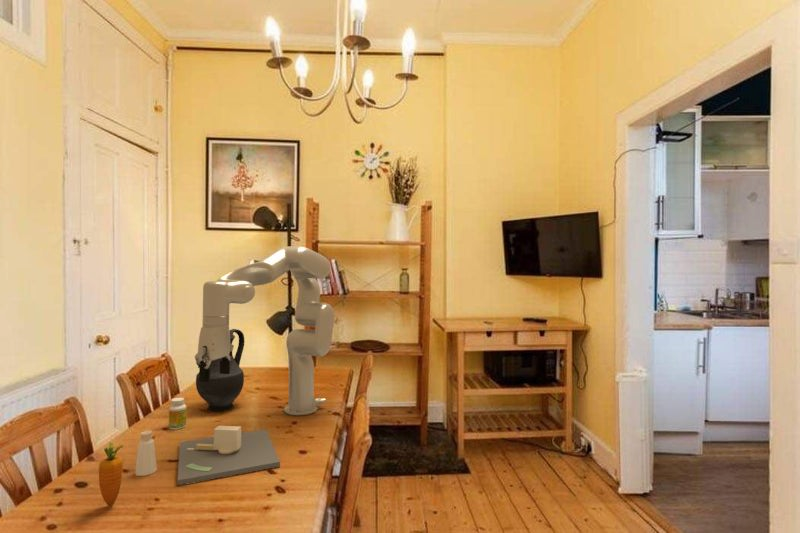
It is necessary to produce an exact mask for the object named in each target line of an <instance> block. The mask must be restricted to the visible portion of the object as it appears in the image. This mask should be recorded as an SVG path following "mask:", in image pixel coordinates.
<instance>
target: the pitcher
mask: <svg viewBox="0 0 800 533" xmlns="http://www.w3.org/2000/svg"><path fill="white" fill-rule="evenodd" d="M229 330H230V344H232V345H233V341H234V340H235V338H236V336H235V335H234V333H235V334H236V335H238V345H237V349H236V353H235V355H233V354H232V355H231V360H230V373H229V374H220V361H222V360H221V358H220V359H217V360H214V361H211V363H210V365H209V368H210V381H209V382H200V381H199V372H198V373H197V374H196V376H195V386H196V391H197V393H198V395H199V397H201V399H202V400H204V401H205V402H206V403H207V404H208V406H207V408H206V410H207V411H208V412H211V413H221V412H222V413H223V412H226V411H229V410H232V409H233V408H235V405H234V404H233V402H235V400H236V399H237V398H238V397H239V396H240V394H241V392H242V391H243V390H242V389H244V384H245V382H244V381H245V374H244V371H243V369H242V368H241V367H240V363H241V359H242V356H243V352H244V347H245V335H244V333H243V331H242V330H240V329H236V328H231V329H229ZM206 362H207V361H205V363H206Z"/></svg>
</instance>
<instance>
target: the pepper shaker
mask: <svg viewBox="0 0 800 533" xmlns="http://www.w3.org/2000/svg"><path fill="white" fill-rule="evenodd" d="M139 434H140V440H139V441H138V444H137V445H138V446H137V454H136V463H135V470H134V473H135V476H138V477H139V476H140V477H145V476H150V475H152V474H154V473H156V472H157V471H158V468H157V467H158V466H157V459H156V458H157V457H156V450H155V441H154V438H153V431H152V430H150V429H149V430H144V431H142V432H140V433H139Z"/></svg>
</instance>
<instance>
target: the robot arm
mask: <svg viewBox="0 0 800 533" xmlns="http://www.w3.org/2000/svg"><path fill="white" fill-rule="evenodd" d="M289 271H290V274H291V275H292V276H293V277H294V279H295V281H296V284H297V287H298V293H297V298H296V306H295V311H294V320H295V322H296V323H297V324H298V325H300V326H305V327H313V328H315V329H314V330H312V329H306V328H296V329H293V330H291V331H290V332H289V333H288V335H287V337H286V349H287V355H288V404H287V405H285V406H284V408H283V409H284V412H285V414H288V415H290V416H306V415H311V414H313V413H315V412H317V411H318V405H323V404H326V403H327V401H326V400H327V399H326V398H321V397H315V396H314V394H315V393H314V390H315V389H314V388H315V386H314V384H315V383H314V382H315V362H314V360H313V357H324V356H326V355H327V354H328V353H329V351H330V348H331V343H332V338H333V333H334V325H335V324H334V323H335V311H334V308H333V307H332V305H331V304H329V303H327V302H320V297H321V296H320V295H321V288H320V284H319V282H318V281H317V279H318V280H319V279H322V280H323V279H325V278H326V277H328V276H329V274H330V273H331V263H330V261H329V260H328V259H327V257H325V256H324V255H322V254H320V253H318V252H317V251H315V250H312V249H311V248H308V247H305V246H289V245H288V246H282V247H280V248H278V249H276V250H275V251H273V252H272V253H270V254H268V255H267V256H264V258H261V259H260V260H258V261H257V262H252V263H250V264H247V265H245V266H242V267H239V268H236V269H234V270H231V271H230V272H228V273H225V274H224V275H223V276H221V277H219V278H218V279H217V280H209V281H206V282H204V283H203V287H202V326H201V328H200V332H199V338H198V347H197V353H195V355H194V359H195V362H196V363H195V364H196V365H197V368H198V369H199V372H198V373H199V381H200V382H209V381H210V368H209V365H210V363H211V361H214V360H217V359H220V358H221V360H222V361H220V374H229V373H230V360H231V355H233V350H234V347H235V344H233V343H232V344H230V330H231V329H230V304H238V305H244V304H247V303H250V302H251V301H252V300H253V299H254V298H255V295H256V290H255V289H256V288H255V287H256V286H264V285H266V284H271V283H273V282H275V281H276V280H277V279H279V277H280V278H281V276H283V275H284V274H286V273H287V272H289ZM205 361H207V362H206V363H205Z"/></svg>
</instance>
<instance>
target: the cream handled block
mask: <svg viewBox="0 0 800 533" xmlns="http://www.w3.org/2000/svg"><path fill="white" fill-rule="evenodd" d="M241 433H242V426H239V425H238V426H237V425H235V426H233V425H218V426H217V427H215V428H214V429H213V437H214V444H197V445H196V449H199V450H218V452H219V453H220V454H231V453H233V452H235V451H237V450H238V449H239V448H240V447H241Z"/></svg>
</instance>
